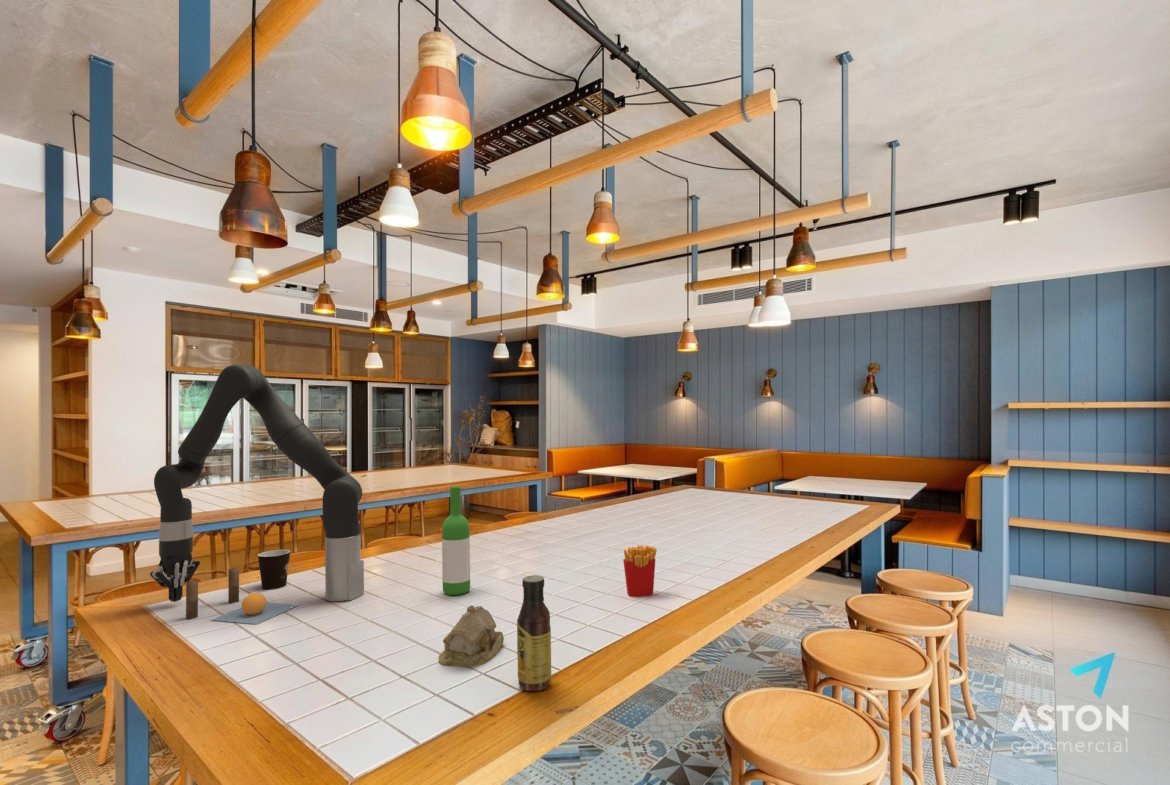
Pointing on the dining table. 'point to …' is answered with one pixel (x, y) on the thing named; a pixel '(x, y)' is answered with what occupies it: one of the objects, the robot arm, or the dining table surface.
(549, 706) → the dining table surface
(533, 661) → the sauce bottle
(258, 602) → the ball
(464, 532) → the wine bottle
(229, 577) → the right post
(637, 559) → the french fries
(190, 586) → the left post
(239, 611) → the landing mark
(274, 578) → the coffee mug
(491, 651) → the ceramic model
